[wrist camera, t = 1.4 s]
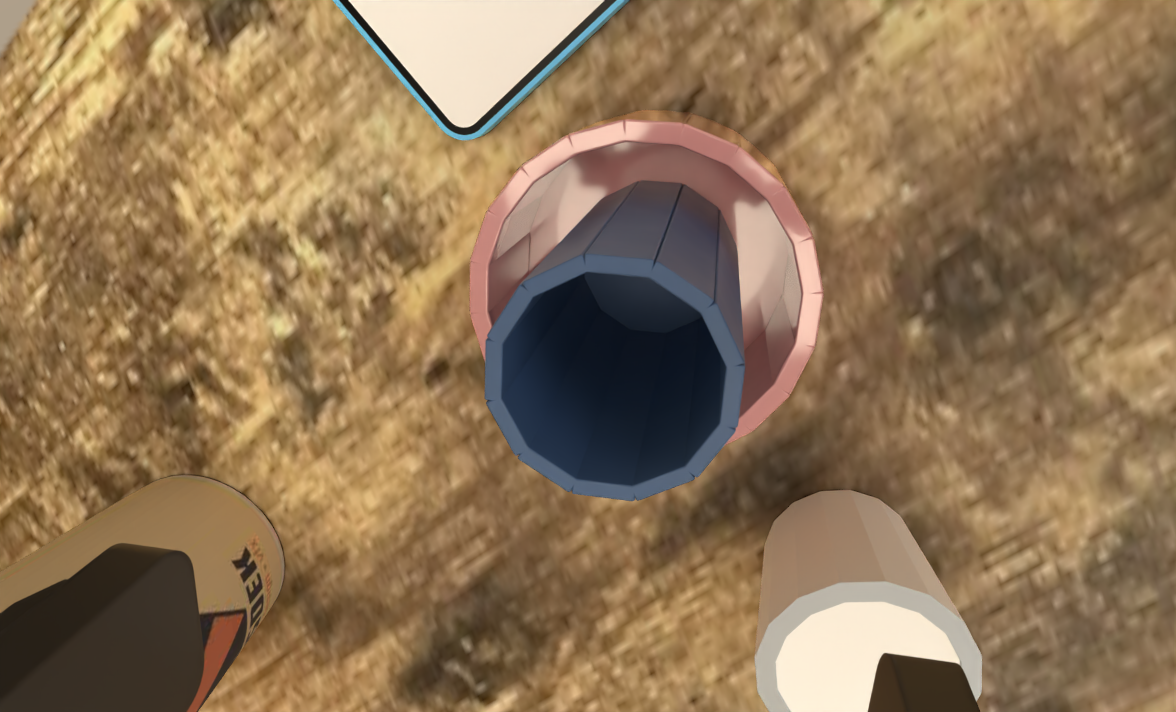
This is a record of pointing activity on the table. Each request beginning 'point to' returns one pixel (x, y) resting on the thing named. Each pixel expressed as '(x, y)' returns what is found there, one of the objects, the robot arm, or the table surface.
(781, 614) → the white cylinder
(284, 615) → the table surface
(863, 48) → the table surface
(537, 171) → the pink cup
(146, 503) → the coffee cup
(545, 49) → the smartphone
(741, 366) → the blue cup
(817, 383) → the table surface
